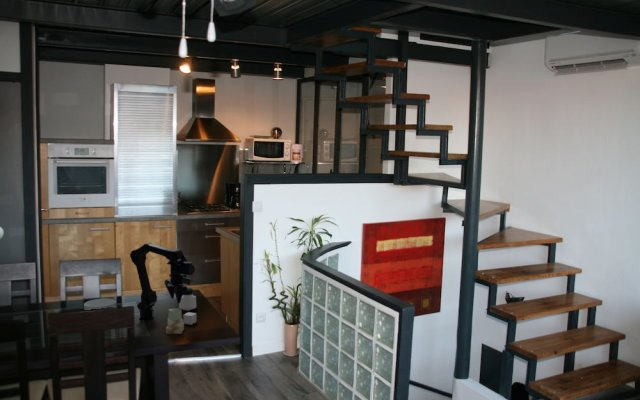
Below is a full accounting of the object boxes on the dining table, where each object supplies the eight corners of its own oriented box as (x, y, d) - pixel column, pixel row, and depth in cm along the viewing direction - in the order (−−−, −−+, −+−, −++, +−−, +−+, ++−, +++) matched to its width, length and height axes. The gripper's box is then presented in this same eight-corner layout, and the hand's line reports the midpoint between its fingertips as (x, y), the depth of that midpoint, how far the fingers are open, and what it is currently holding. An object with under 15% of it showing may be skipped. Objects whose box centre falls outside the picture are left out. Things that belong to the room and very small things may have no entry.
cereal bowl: (113, 308, 344) (113, 296, 344) (118, 316, 330) (117, 304, 329) (83, 312, 337) (82, 300, 336) (85, 320, 322) (85, 308, 321)
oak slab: (166, 334, 304) (166, 328, 304) (168, 329, 312) (168, 323, 312) (181, 334, 305) (181, 328, 305) (184, 329, 313) (183, 322, 312)
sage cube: (181, 319, 308) (181, 310, 307) (172, 320, 305) (172, 311, 304) (177, 316, 312) (177, 307, 311) (168, 318, 309) (168, 309, 308)
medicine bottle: (196, 307, 348) (196, 288, 347) (187, 310, 342) (187, 290, 341) (187, 305, 352) (187, 286, 351) (179, 308, 346) (178, 288, 345)
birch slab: (169, 328, 303) (169, 322, 303) (167, 324, 310) (167, 317, 309) (183, 326, 306) (183, 320, 306) (180, 322, 312) (180, 316, 312)
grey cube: (183, 323, 320) (183, 314, 320) (188, 320, 325) (188, 312, 325) (191, 324, 319) (191, 315, 318) (196, 321, 324) (196, 313, 323)
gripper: (196, 275, 314) (196, 303, 316) (183, 267, 329) (183, 294, 332) (176, 277, 308) (176, 306, 310) (164, 269, 323) (164, 297, 325)
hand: (175, 300), depth 319 cm, fingers open, 9 cm apart
